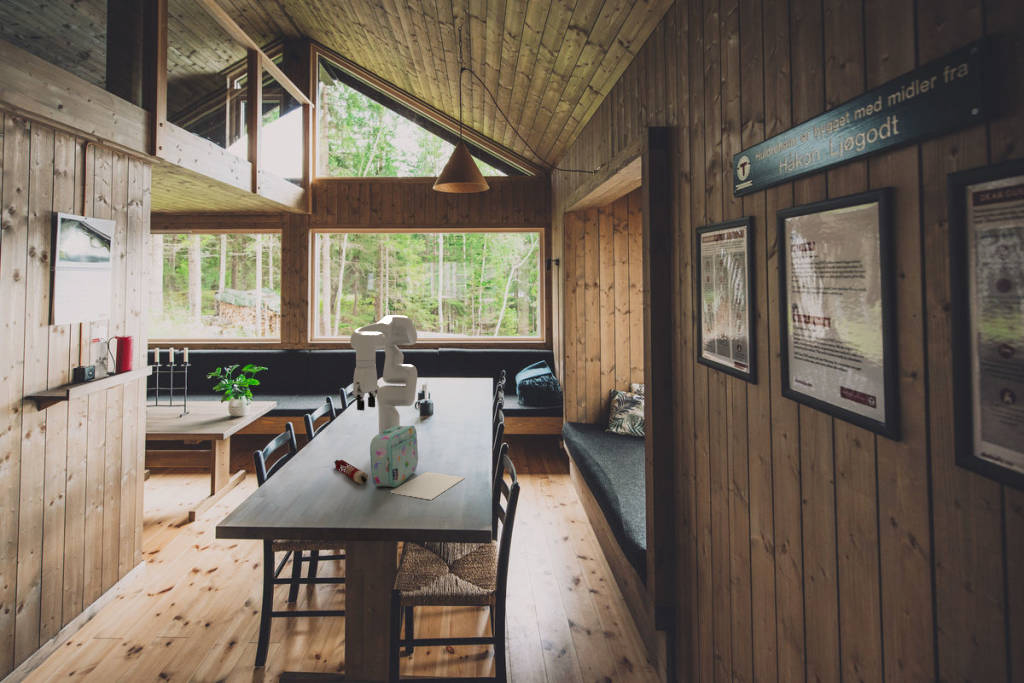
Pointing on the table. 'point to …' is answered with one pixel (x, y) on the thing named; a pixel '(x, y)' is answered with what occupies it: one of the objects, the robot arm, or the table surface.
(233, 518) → the table surface
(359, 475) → the shock absorber
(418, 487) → the mat
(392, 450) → the lunch box
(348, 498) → the table surface
